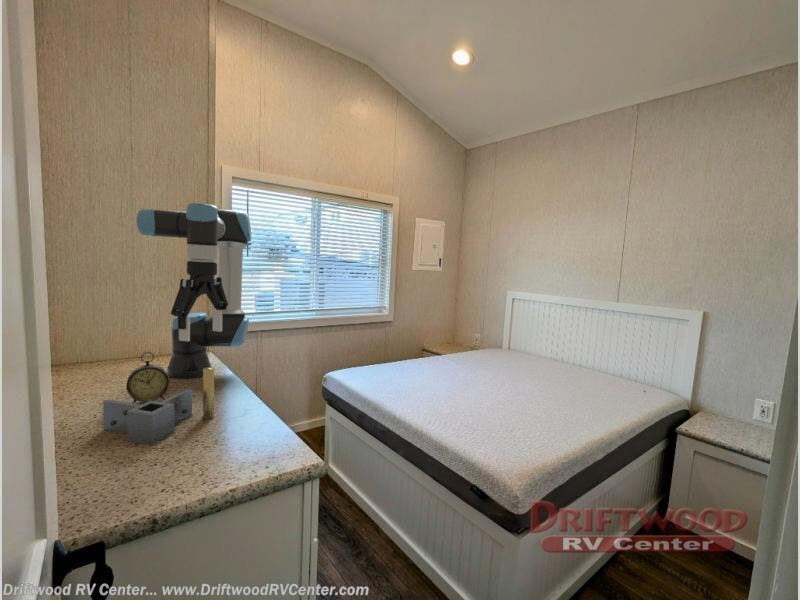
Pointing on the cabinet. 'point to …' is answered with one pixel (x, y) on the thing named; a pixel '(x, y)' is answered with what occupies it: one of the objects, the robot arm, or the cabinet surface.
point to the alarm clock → (147, 382)
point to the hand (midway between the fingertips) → (201, 335)
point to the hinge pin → (208, 393)
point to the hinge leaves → (147, 417)
